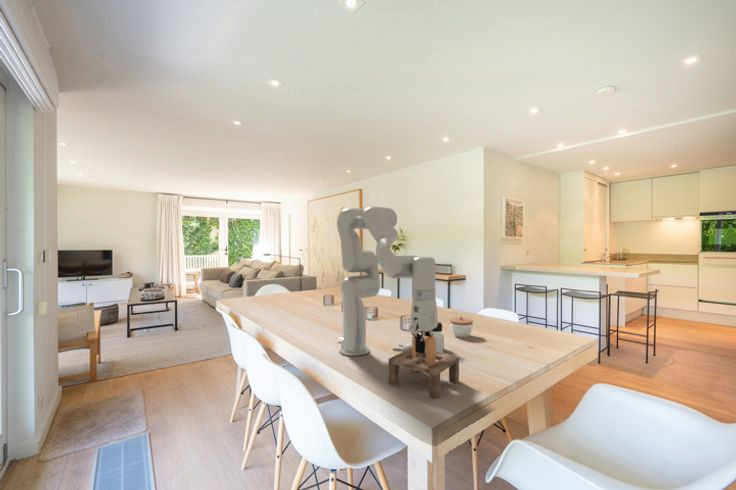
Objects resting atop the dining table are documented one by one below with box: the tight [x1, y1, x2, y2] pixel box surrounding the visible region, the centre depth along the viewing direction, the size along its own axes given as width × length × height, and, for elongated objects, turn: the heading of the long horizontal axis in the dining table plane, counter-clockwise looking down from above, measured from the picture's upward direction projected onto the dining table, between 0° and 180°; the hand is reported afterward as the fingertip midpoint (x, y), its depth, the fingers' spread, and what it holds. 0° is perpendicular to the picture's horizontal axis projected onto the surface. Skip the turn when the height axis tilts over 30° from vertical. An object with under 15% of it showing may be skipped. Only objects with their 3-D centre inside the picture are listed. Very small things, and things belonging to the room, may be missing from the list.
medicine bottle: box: [433, 321, 445, 353], centre depth 137 cm, size 7×7×12 cm
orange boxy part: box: [411, 335, 437, 376], centre depth 105 cm, size 6×4×11 cm, turn 51°
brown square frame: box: [388, 348, 460, 400], centre depth 105 cm, size 17×16×9 cm
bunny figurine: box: [392, 342, 426, 362], centre depth 129 cm, size 10×5×15 cm
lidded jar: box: [449, 316, 474, 338], centre depth 159 cm, size 11×11×9 cm
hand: (423, 350), depth 105 cm, fingers closed on orange boxy part, 4 cm apart
